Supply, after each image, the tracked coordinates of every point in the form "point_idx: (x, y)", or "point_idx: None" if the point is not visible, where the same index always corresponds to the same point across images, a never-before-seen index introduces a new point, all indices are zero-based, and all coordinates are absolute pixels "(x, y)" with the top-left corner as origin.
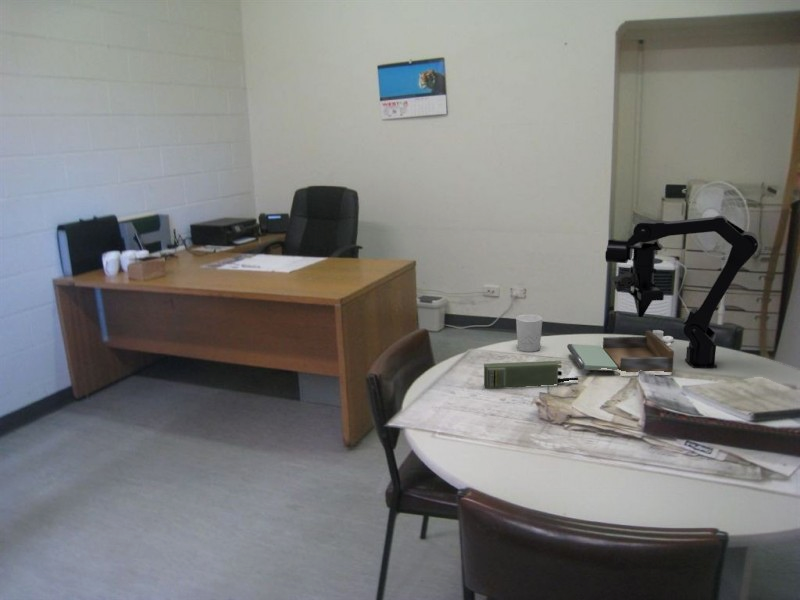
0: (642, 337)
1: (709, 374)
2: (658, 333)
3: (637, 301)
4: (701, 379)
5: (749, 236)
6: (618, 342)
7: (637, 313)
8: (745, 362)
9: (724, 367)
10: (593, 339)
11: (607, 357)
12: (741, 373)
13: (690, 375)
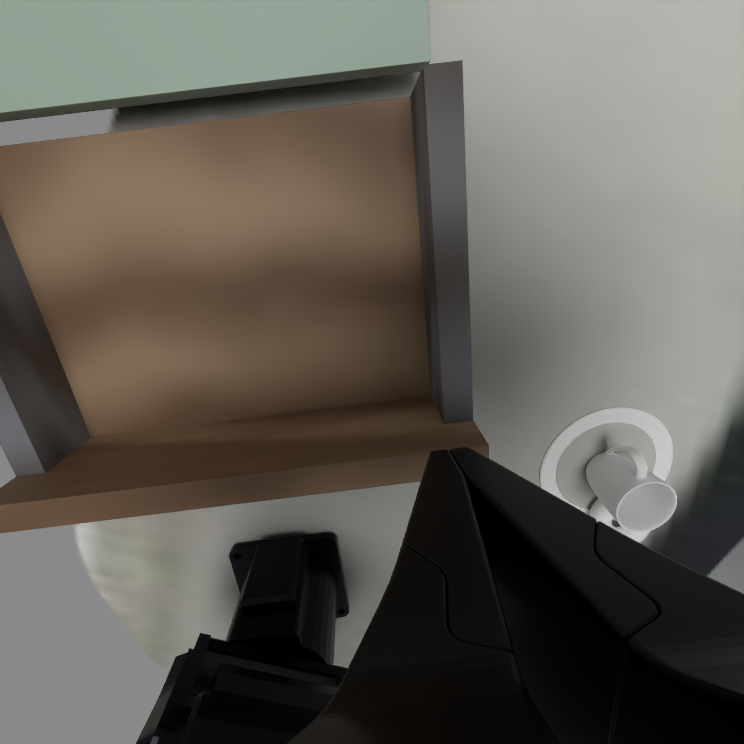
0: (453, 398)
1: (166, 580)
2: (616, 503)
3: (439, 653)
4: (91, 543)
5: None
6: (425, 213)
7: (478, 458)
8: None
9: None
10: (735, 88)
11: (129, 70)
12: None
13: None
